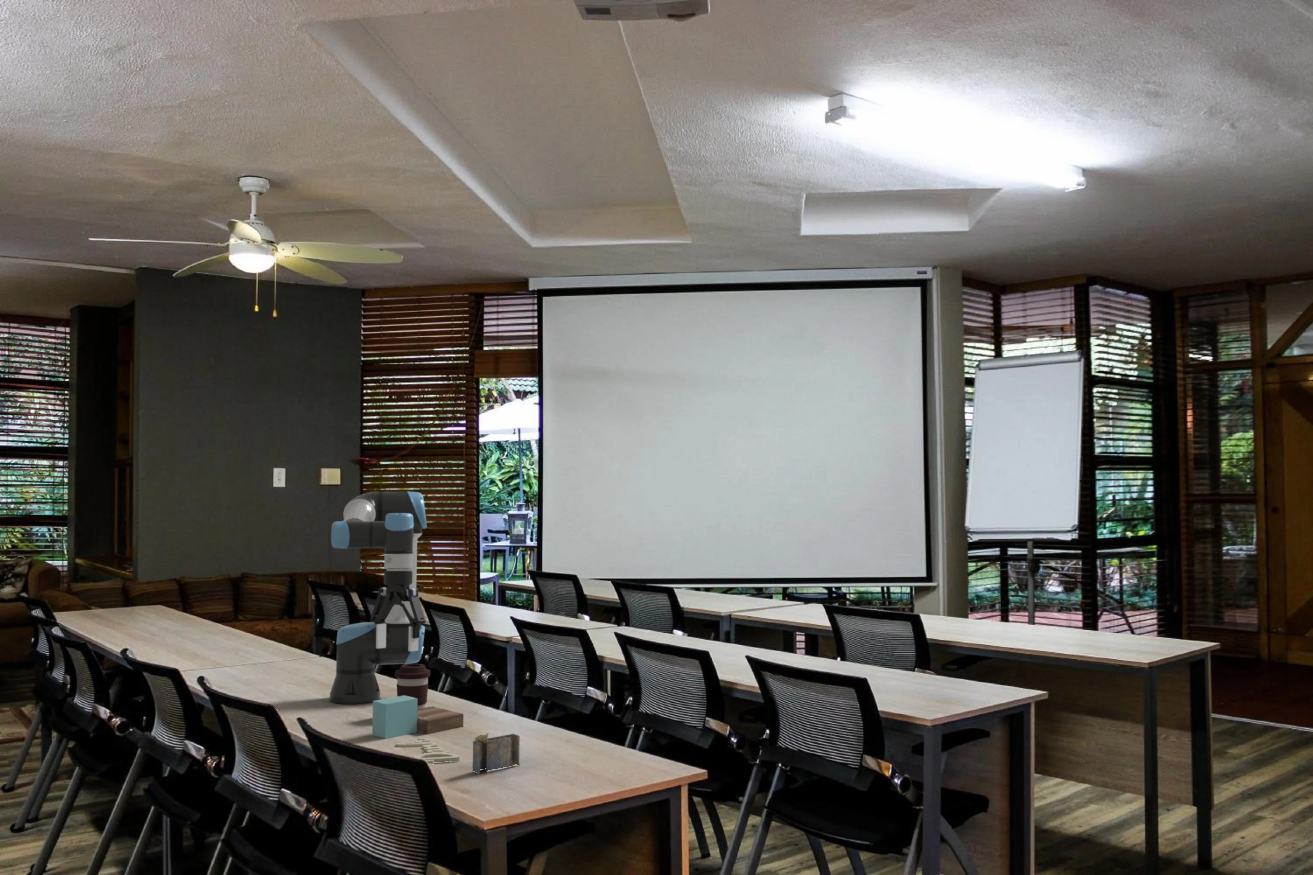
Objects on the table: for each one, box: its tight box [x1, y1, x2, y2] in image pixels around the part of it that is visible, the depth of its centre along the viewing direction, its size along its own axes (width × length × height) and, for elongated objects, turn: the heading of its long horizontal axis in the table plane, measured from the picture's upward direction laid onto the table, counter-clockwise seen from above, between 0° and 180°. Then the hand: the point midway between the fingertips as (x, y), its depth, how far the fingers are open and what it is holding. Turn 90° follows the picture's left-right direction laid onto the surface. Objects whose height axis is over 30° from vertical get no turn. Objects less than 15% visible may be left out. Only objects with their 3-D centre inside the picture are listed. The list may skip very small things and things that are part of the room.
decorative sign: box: [395, 737, 460, 764], centre depth 263 cm, size 23×2×10 cm
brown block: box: [416, 705, 464, 735], centre depth 290 cm, size 14×12×4 cm
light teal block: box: [371, 695, 418, 740], centre depth 281 cm, size 6×10×9 cm, turn 139°
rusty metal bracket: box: [472, 732, 521, 773], centre depth 249 cm, size 11×3×10 cm, turn 131°
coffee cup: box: [394, 663, 431, 709], centre depth 302 cm, size 10×10×15 cm
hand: (396, 649), depth 282 cm, fingers open, 13 cm apart
